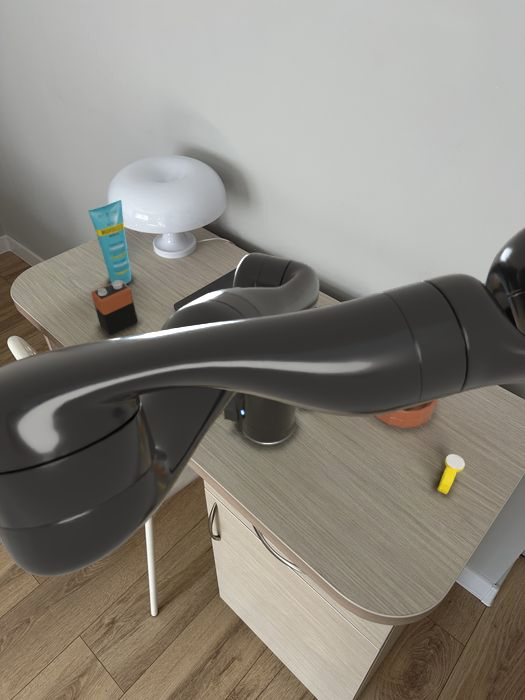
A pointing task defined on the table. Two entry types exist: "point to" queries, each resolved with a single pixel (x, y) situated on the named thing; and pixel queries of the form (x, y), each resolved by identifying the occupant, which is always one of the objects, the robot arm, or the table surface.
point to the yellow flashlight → (450, 472)
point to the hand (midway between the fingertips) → (452, 335)
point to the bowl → (410, 415)
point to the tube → (112, 240)
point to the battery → (114, 307)
